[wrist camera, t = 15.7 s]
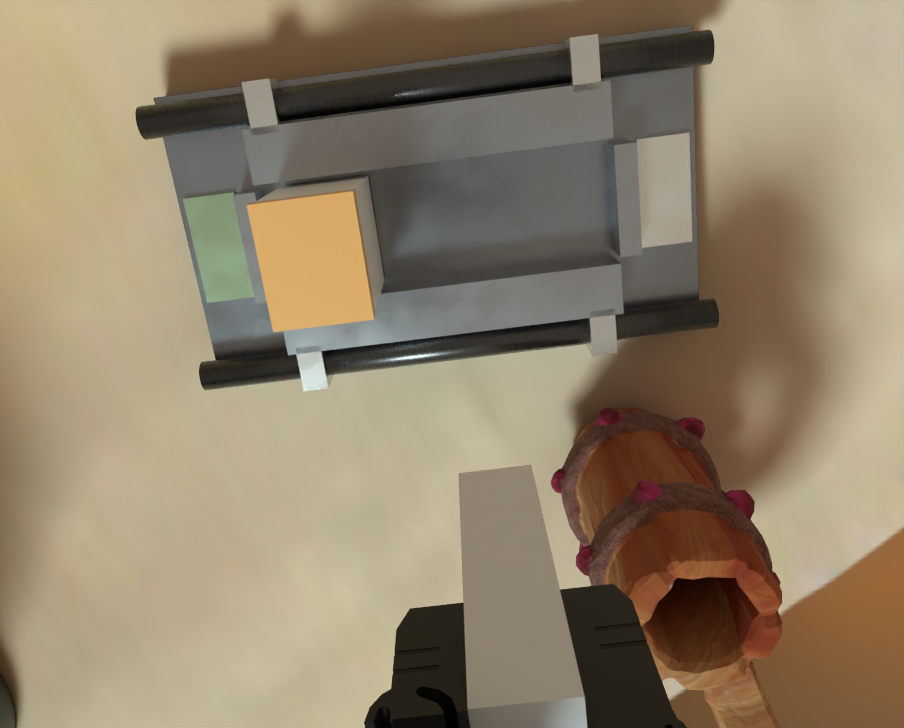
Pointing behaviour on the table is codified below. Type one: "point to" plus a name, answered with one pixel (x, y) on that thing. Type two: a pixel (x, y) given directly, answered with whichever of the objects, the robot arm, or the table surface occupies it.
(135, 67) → the table surface
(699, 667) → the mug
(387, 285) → the panel
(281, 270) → the orange grey block
